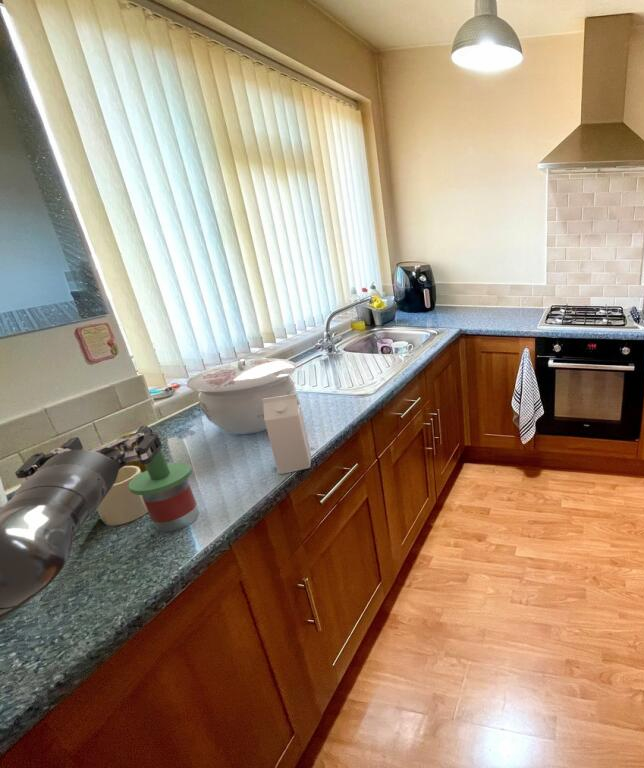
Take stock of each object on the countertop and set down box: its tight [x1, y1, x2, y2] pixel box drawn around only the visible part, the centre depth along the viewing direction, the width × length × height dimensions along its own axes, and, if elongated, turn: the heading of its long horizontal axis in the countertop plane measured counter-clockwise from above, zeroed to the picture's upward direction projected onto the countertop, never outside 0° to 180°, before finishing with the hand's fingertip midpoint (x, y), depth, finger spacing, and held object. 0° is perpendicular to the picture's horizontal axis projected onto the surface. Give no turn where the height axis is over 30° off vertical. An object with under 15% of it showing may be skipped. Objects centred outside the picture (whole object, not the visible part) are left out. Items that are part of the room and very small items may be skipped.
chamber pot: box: [186, 357, 297, 435], centre depth 120 cm, size 28×28×21 cm
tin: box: [142, 479, 200, 533], centre depth 82 cm, size 7×7×10 cm
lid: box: [129, 443, 193, 495], centre depth 78 cm, size 10×10×9 cm
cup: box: [96, 466, 149, 526], centre depth 84 cm, size 8×8×9 cm
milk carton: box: [262, 393, 312, 475], centre depth 99 cm, size 7×7×19 cm
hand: (112, 436), depth 65 cm, fingers open, 8 cm apart
